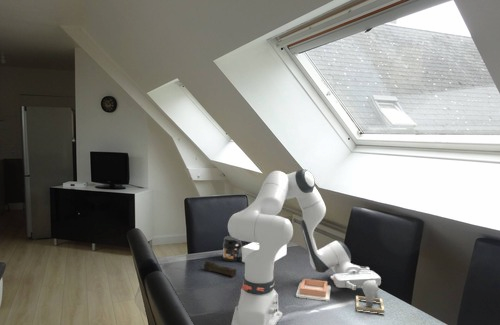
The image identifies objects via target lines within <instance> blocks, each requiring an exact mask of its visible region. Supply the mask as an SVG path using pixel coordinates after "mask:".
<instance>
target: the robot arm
mask: <svg viewBox="0 0 500 325" xmlns="http://www.w3.org/2000/svg"><path fill="white" fill-rule="evenodd" d="M312 173H313V172H311V171H310V170H308V169H299V170H297V171H293V172H291V173H287V174H286V173H285V172H283V171H281V170H273V171H271V172H270V173H269V174H268V175H267V176H266V178H265V179H264V181H263V183H262V185H261V187H260V190H259V192H258V194H257V196H256V198H255V199H254V201H253V202H252V203H251V204H249V205H248V206H247V207H246V208H244V209H242V210H240V211H238V212H235V213H234V214H232V215H231V216H230V217H229V220H228V222H227V231H228V233H229V236H231V237H233V238H236V239H238V240H241V242H248V243H252V242H255V243H259V249H258V250H255V251H253V252H251V253H249V254H248V255H247V257H246V259H245V262H244V276H243V281H242V287H241V289H240V295H239V296H240V297H239V301H238V302H237V306H235V307H234V311H233V316H232V320H231V325H277V324H278V323H277V322H280V321H281V319H282V318H281V317H283V312H282V311H280V310H279V294H278V293H277V291H276V290H275V284H276V283H275V282H276V281H275V277H274V271H275V270H274V269H275V268H274V267H275V262H274V260H275V257H276V254H277V252H278V251H279V250H280V249H281V248H282V247H283V246H284V245H286V244H287V245H288V243H289V242H291V240H292V238H293V235H294V227H293V224H292V222H291V221H290V219H288V218H286V217H283V216H280V215H278V214H279V213H280V212H281V211H282V209H283V205H284V204H285V201H286V200H290V199H294V198H296V201H297V203H298V206H299V207H300V210H301V212H302V219H301V221H300V229H301V232H302V236H303V239H304V242H305V246H306V249H307V253H308V256H309V263H310V265H311V267H312V269H314V271H315V272H318V273H322V274H323V273H325V272H327V271H328V270H329V269H331V270H332V271H333V274H332V275H330V279H331V280H332V281H333V283H334V285H335V287H336V288H339V289H340V288H341V289H342V288H345V289H346V288H348V289H351V290H352V291H356V290H357V287H358V288H359V287H361V288H362V286H363V283H364V282H365V281H367V280H372V281H374V282H375V283H376V284H377V286H378V287H379V286H380V285H381V283H382V281H381V280H382V278H381V276H380V275H379V274H378V273H376V272H375V271H374V270H370V269H371V268H370V267H369V266H362V265H361V266H360V265H357V264H354V263H351V261H352V254H351V251H350V249H349V248H348V246H347V245H346V244H345V243H344V242H342V241H340V240H334V241H332V242H330V243H328V244H327V245H325V246H323V247H321V248H319V249H318V248H317V245H316V244H317V243H316V240H315V237H314V231H315V229H316V228H317V227H318V225H319V224H320V223H321V221H322V220H323V219H324V217H325V216H326V213H327V207H326V205H325V202H324V200H323V198H322V196H321V193H320V192H319V191H318V189H317V188H316V186H315V185H316V179H315V178H314V175H313V174H312Z"/></svg>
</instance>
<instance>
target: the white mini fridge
mask: <svg viewBox="0 0 500 325" xmlns="http://www.w3.org/2000/svg"><path fill="white" fill-rule="evenodd" d="M287 245H288V243H287V244H286V245H284V246H283V247H282V248H281V249H280V250H279V251H278V252H277V254H276V257H275V260H274V263H275V262H277V261H278V260H279V259H281V258H283V257H285V256H286V255H287V248H288V246H287ZM258 249H259V243H255V242H249V243H248V244H245V245H242V251H241V256H242V257H241V262H242V263H245V259H246V257H247V255H248V254H249V253H251V252H253V251H255V250H258Z"/></svg>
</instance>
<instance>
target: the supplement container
mask: <svg viewBox="0 0 500 325" xmlns="http://www.w3.org/2000/svg"><path fill="white" fill-rule="evenodd" d="M242 247H243V243H242V241H241V240H238V239H236V238H233V237H231V235H227V236H225V237H224V238H223V244H222V248H223V249H222V259H223V260H224V261H225V262H226V261H227V262H239V261H241V260H242Z"/></svg>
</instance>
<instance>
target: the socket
mask: <svg viewBox="0 0 500 325" xmlns="http://www.w3.org/2000/svg"><path fill="white" fill-rule="evenodd" d="M331 288H332V286H331V285H328V281H327V280H319V279H311V278H302V281H300V282H299V284H298V287H297V291H296V294H295V298H298V297H299V298H300V299H306V298H307V299H306V300H313V299H316V300H315V301H321V300H326V301H325V302H328V301H329V302H330V297H331V296H330V295H331Z"/></svg>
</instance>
